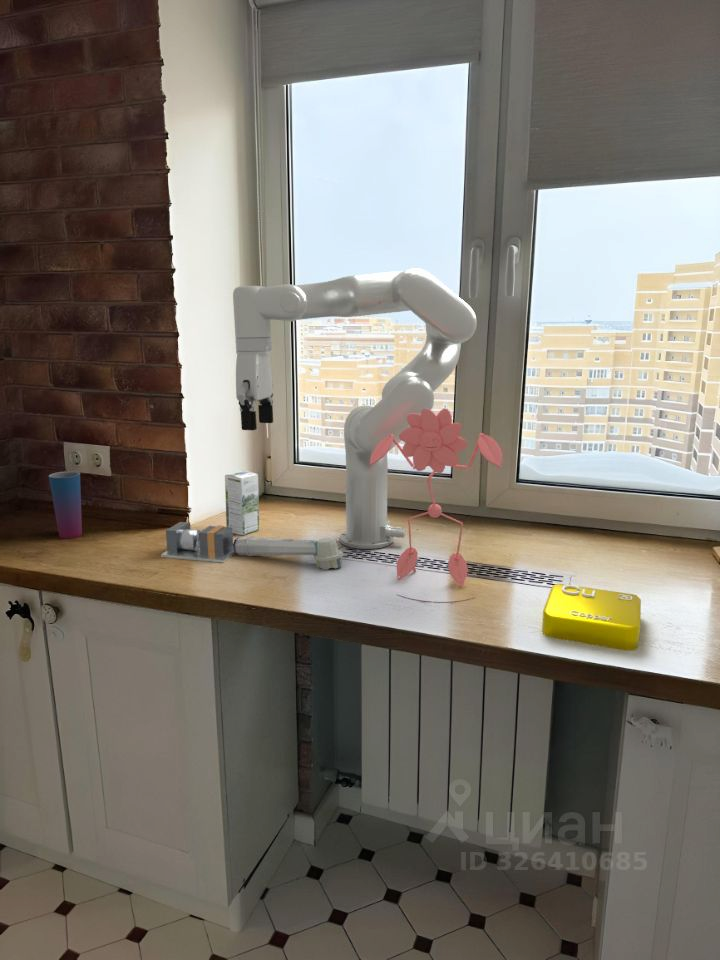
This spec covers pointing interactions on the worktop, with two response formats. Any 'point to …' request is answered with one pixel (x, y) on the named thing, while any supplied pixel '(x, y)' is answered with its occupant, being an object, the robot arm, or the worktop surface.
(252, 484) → the syrup box
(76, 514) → the cup
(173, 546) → the shaft mount
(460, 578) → the pink flower doll
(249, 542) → the grey connecting link
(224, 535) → the coupling block
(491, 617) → the worktop surface
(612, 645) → the element tile
